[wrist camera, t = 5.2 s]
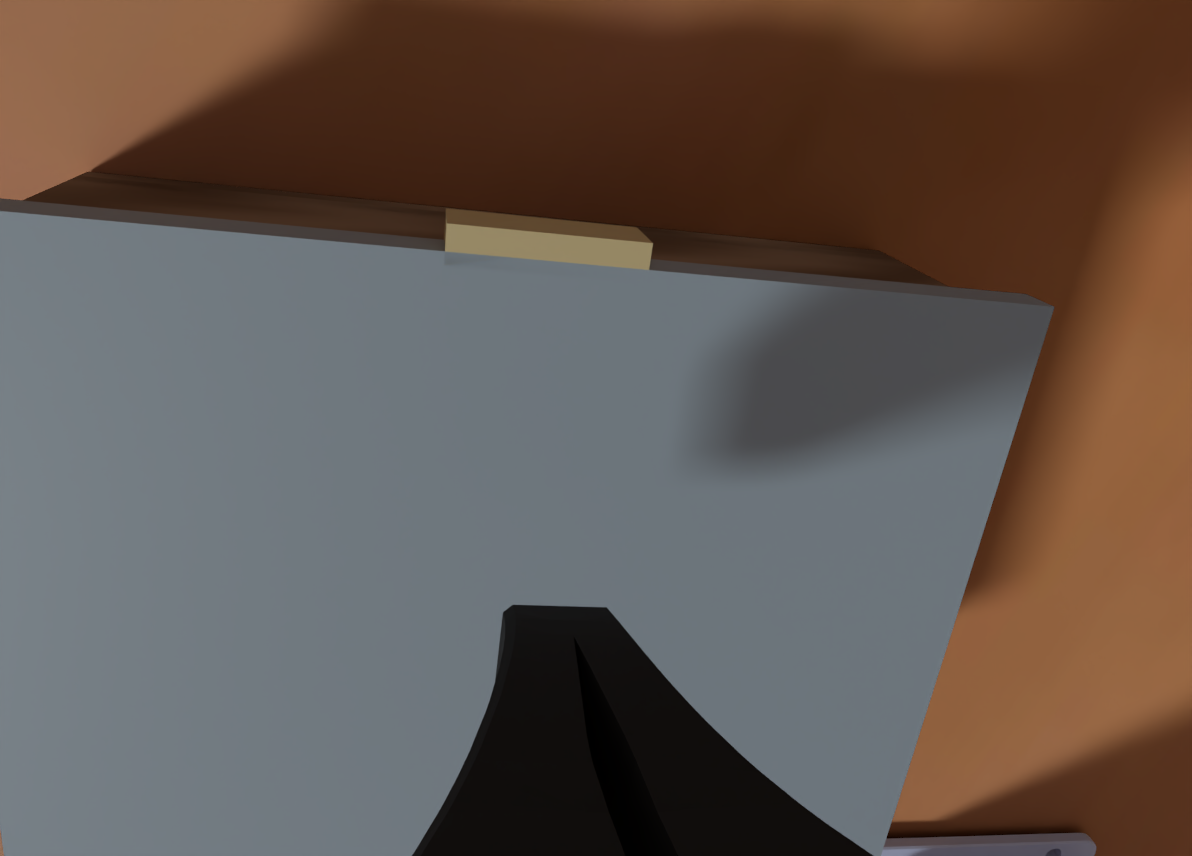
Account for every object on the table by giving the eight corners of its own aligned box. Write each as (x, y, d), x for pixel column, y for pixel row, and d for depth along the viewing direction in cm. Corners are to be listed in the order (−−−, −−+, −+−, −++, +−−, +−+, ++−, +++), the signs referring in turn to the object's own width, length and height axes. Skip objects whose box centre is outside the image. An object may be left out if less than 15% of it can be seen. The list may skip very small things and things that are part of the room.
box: (879, 250, 21) (1003, 315, 16) (771, 694, 25) (845, 843, 21) (88, 171, 18) (-33, 224, 13) (127, 694, 22) (47, 868, 18)
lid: (1019, 265, 16) (1062, 282, 15) (852, 830, 21) (875, 874, 20) (-51, 158, 13) (-94, 171, 12) (37, 854, 18) (11, 907, 17)
